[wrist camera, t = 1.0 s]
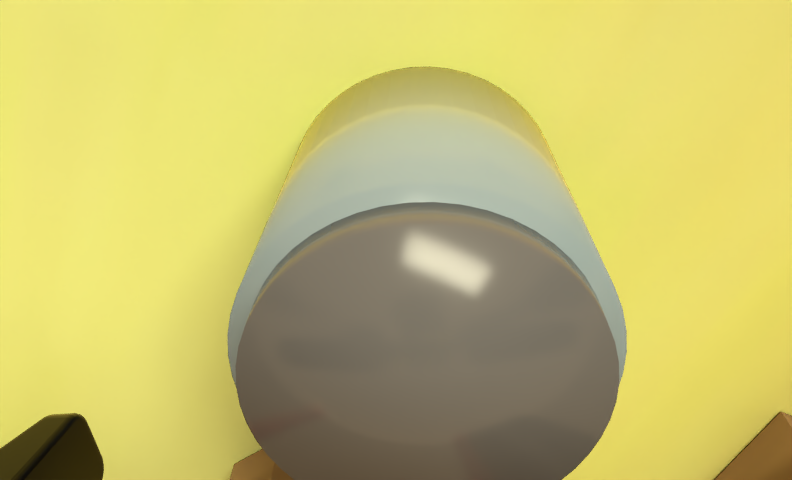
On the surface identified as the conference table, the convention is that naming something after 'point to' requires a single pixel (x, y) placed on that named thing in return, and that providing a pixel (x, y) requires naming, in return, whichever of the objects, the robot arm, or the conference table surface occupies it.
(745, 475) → the lane
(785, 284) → the conference table surface
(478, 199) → the jar
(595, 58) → the conference table surface
